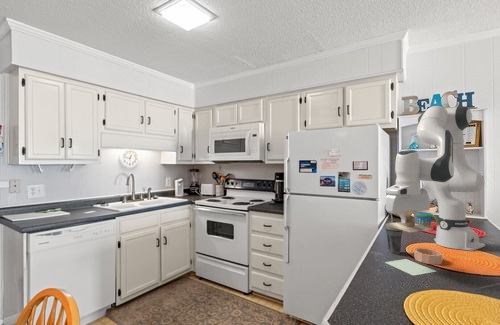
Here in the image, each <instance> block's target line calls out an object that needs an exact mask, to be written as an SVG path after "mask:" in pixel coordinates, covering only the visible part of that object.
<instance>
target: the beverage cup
mask: <svg viewBox="0 0 500 325" xmlns="http://www.w3.org/2000/svg"><path fill="white" fill-rule="evenodd" d="M390 217H391V218H390V219H391V221H389V222H387V223H386V224H388V223H397V222H398V221H397V220H394V219H393V213H390ZM403 232H404V231H403V230H400V229H396V228H392V227H389V226H386V225H385V233H386V239H387V246H388V253H389V254H392V255H400V254H401V249H402V248H401V245H402V235H403Z"/></svg>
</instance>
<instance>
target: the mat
mask: <svg viewBox="0 0 500 325" xmlns="http://www.w3.org/2000/svg"><path fill="white" fill-rule="evenodd" d="M384 264H387V265H390V266H391V267H394V268H396V269H398V270H400V271H402V272H404V273H406V274H409V275H410V276H419V275H425V274H430V273H436V272H438V271H437V270H434V269H432V268H430V267H427V266H425V265H421V264H420V263H417V262H414V261H412V260H409V259H407V258H404V259H397V260H396V259H395V260H391V261H390V260H389V261H385V262H384Z"/></svg>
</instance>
